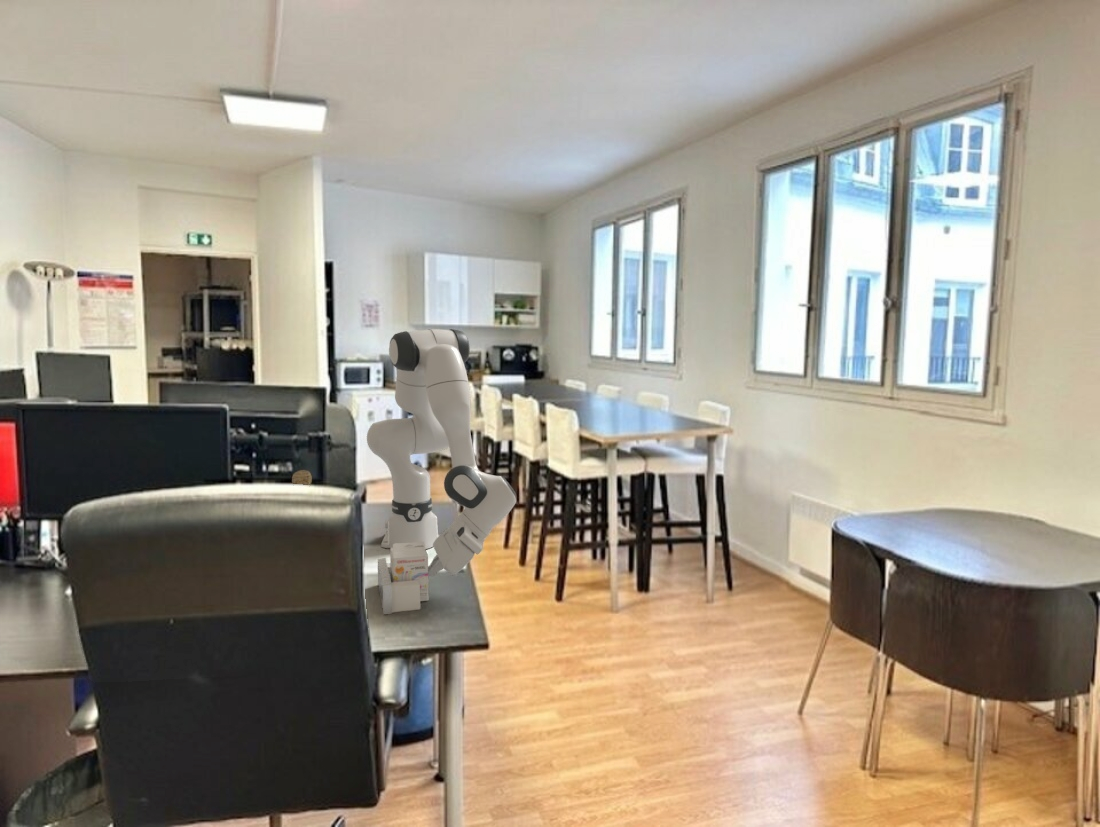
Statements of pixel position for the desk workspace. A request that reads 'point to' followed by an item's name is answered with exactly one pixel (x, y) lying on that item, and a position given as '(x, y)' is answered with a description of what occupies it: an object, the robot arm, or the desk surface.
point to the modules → (405, 594)
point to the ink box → (410, 565)
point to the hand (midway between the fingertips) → (428, 573)
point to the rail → (385, 586)
